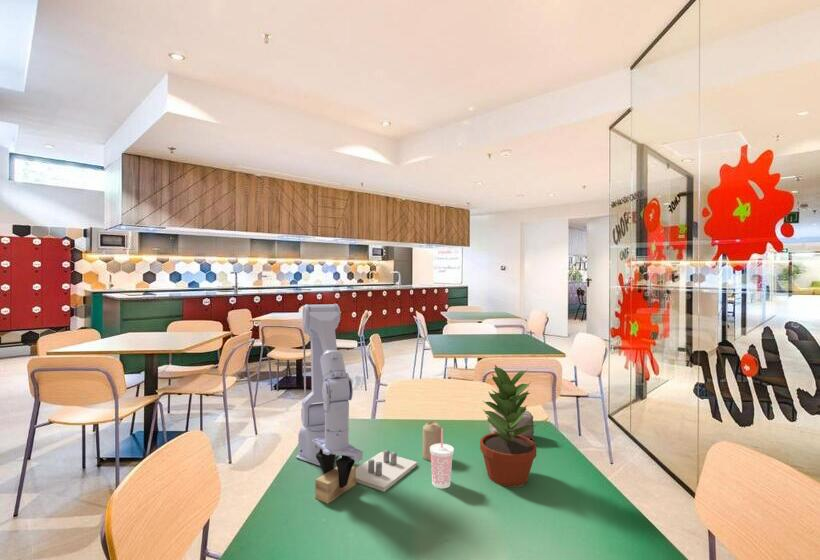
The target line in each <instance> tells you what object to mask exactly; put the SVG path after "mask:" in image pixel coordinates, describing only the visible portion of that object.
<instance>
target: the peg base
mask: <svg viewBox="0 0 820 560" xmlns="http://www.w3.org/2000/svg"><path fill="white" fill-rule="evenodd" d="M397 455H398V453H397V452H396V451H391V453H390V450H389V449H384V450H383V451H381V452H378V453H377V454H376V455H373V456H372V457H371V458H369V459H368V460H366V461H365V462H363V463H361V464H360V465H358V466H356V483H358V484H361V485H363V486H366V487H370V488H372V489H375V490H378V491H381V492H386V491H387V490H388V489H390V488H391V487H392V486H393V485H394V484H396V483H397V482H398V481H400V479H402V478H403V477H405V476H406V475H407V474H408V473H410V472H411V471H412V470H413V469H414V468H415V469H416V468H417V466H418V462H417V461H415V460H412V459H408V458H405V457H401V456H397Z"/></svg>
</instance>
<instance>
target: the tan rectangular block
mask: <svg viewBox="0 0 820 560" xmlns="http://www.w3.org/2000/svg"><path fill="white" fill-rule="evenodd" d="M356 468H357V466H354V465H353V467H352V469H351V472H350V475H349V479H348V483H347V485H346V486H344V487H343V488H340V486H339V473H338V468H337V466H336V467H334V469H332V470H331V471H329V472H327V473H325V474H324V475H323V474H322V475H321V476H319V477H317V478H316V479H315V482H314V483H315V490H314V491H315V492H314V494H315V499H316V500H318V501H320V502H323V503H326V504H330V503H331V502H333V501H334V500H336V499H337V498H339V497H340V496H342V495H343V494H344V493H345V492H347V491H348V490H350V489H351V488H353V487H354V486H356V483H357V482H356Z"/></svg>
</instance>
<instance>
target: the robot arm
mask: <svg viewBox="0 0 820 560" xmlns="http://www.w3.org/2000/svg"><path fill="white" fill-rule="evenodd" d="M340 322H341V309H340V306H339V304H337V303H333V304H332V303H331V304H327V303H325V304H323V303H322V304H307V303H306V304H304V306H303V307H302V330H303V333H304V334H306V335H308V336H309V339H310V368H311V369H310V370H311V372H310V374H311V377H310V378H311V391H310V393H309V394H308V395H306V396H305V397H304V398H303V399H302V401H301V408H300V409H301V411H300V413H301V414H300V415H301V416H300V417H301V425H302V426H301V427H300V429H299V432H298V436H297V437H298V440H297V442H298V443H297V446H298V447H297V450H298V451H297V452H298V453H297V455H296V456H295V458H297V459H298V460H302V461H305V462H308V463H311V464H313V465H316V466H320V468H321V471H322V475H324V474H325V473H327V472H329V471H331V470H332V469H334V468H335V464H336V467H337V468H338V473H339V486H340V488H343V487H344V486H346V485H347V483H348V479H349V475H350V472H351V469H352V467H353V466H354V465H355V463H359V462H360V461H363V457H364V454H363V450H361V449H359V448H357V447H355V446H354V445H352V444H351V443H349V440H350V439H349V436H350V435H349V433H350V431H349V430H350V427H349V425H350V420H349V419H350V413H349V412H350V401H352V399H353V395H354V394H353V393H354V392H353V382H352V379H351V377H350V375H349V373H348V372H347V371H346V365H345V361H344V357H343V356H344V355H343V354H342V352H340V351H338V347H337V338H336V337H337V336H336V329H337V328H338V326H339V323H340ZM338 456H341V457H339V458H338V459H336V457H338Z"/></svg>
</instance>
